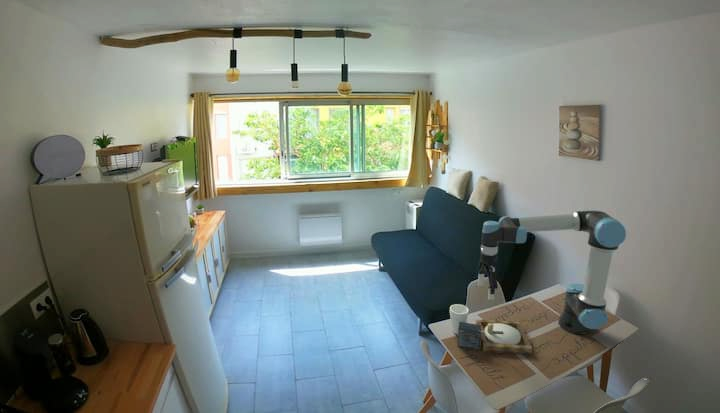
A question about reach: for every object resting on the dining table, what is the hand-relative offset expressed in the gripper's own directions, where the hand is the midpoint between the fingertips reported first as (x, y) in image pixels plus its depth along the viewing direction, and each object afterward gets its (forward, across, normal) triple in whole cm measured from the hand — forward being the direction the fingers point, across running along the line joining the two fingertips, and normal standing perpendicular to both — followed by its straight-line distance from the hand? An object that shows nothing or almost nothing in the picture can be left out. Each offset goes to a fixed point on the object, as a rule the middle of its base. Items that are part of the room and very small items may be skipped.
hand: (485, 292), depth 185 cm
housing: (+24, +5, +8) cm, 26 cm away
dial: (+22, +5, +8) cm, 24 cm away
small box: (+24, +8, -10) cm, 27 cm away
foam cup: (+24, -3, -12) cm, 27 cm away
